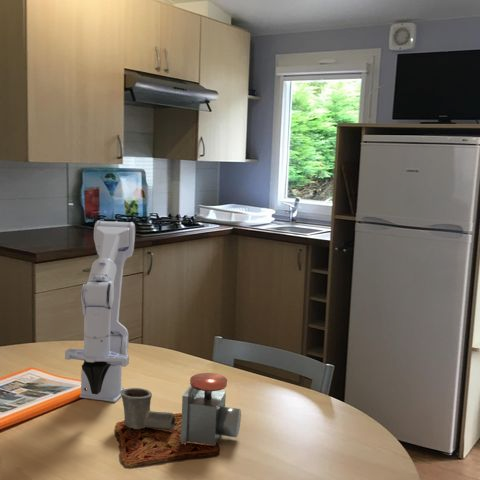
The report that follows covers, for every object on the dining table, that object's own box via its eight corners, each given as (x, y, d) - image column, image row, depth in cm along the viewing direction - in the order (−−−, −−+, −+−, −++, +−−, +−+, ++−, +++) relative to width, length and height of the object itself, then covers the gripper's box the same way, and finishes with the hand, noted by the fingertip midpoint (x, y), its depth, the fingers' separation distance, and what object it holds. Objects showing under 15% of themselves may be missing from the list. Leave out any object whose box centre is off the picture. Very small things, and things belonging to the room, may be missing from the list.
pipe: (169, 437, 135) (170, 403, 134) (114, 429, 138) (114, 395, 137) (177, 425, 141) (178, 392, 140) (124, 417, 144) (125, 385, 142)
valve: (178, 444, 132) (180, 386, 130) (192, 422, 143) (195, 368, 141) (231, 452, 130) (235, 393, 128) (242, 429, 141) (245, 374, 139)
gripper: (58, 336, 136) (58, 395, 138) (120, 343, 133) (119, 403, 135) (73, 327, 143) (72, 383, 145) (132, 334, 140) (131, 391, 142)
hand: (96, 392), depth 141 cm, fingers closed
